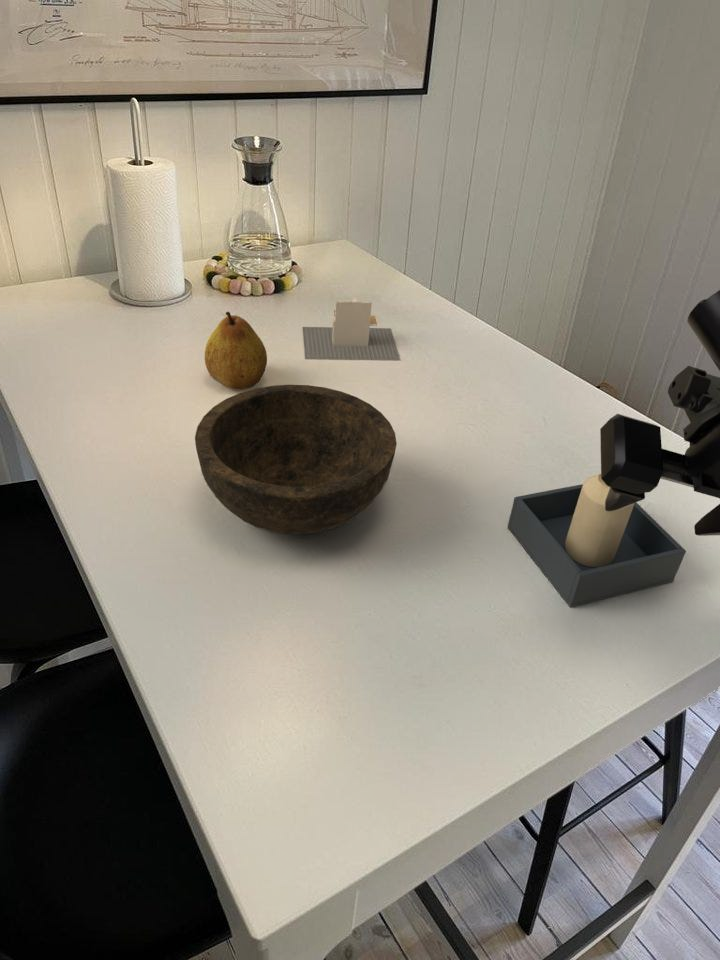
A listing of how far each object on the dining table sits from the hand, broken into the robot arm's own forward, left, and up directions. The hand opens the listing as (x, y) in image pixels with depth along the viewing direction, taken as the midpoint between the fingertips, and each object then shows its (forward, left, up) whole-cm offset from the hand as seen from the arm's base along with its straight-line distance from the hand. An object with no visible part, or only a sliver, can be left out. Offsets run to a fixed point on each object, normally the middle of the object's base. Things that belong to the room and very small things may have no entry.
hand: (651, 518), depth 70 cm
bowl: (+36, +6, -12) cm, 39 cm away
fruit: (+60, -12, -12) cm, 63 cm away
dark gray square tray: (+5, -7, -12) cm, 15 cm away
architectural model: (+54, -33, -12) cm, 65 cm away
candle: (+5, -7, -12) cm, 15 cm away
